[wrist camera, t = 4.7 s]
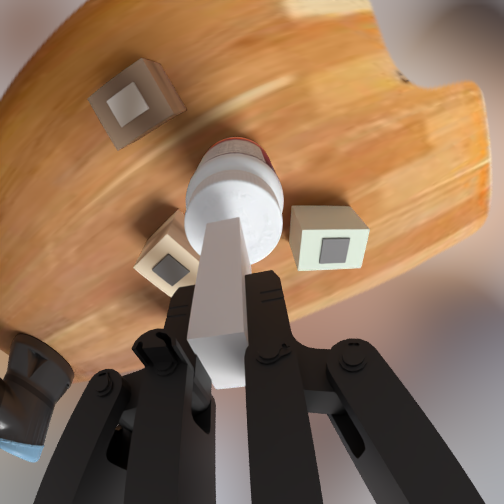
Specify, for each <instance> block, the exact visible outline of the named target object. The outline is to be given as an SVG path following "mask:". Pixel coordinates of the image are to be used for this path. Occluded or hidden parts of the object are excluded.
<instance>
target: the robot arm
mask: <svg viewBox="0 0 504 504" xmlns="http://www.w3.org/2000/svg"><path fill="white" fill-rule="evenodd" d="M132 350H133V351H134V353H135V354H136V355H137V357H138V358H139V359H140V361H141V362H142V363H143V364H144V366H145V368H144V369H141V370H139V371H136V372H133V373H130V374H127V375H124V376H121V375H120V374H119V373H118V372H117V371H115V370H113V369H105V370H102V371H99V372H98V373H96V374H95V375H94V376H93V377H92V378H91V380H90V381H89V383H88V385H87V387H86V389H85V390H84V392H83V394H82V396H81V398H80V400H79V402H78V404H77V406H76V408H75V409H74V411H73V413H72V415H71V417H70V419H69V421H68V423H67V425H66V427H65V430H64V432H63V434H62V436H61V438H60V440H59V442H58V444H57V447H56V449H55V451H54V454H53V456H52V458H51V460H50V463H49V465H48V467H47V470H46V472H45V475H44V477H43V480H42V482H41V485H40V487H39V490H38V492H37V495H36V498H35V501H34V503H33V504H216V489H215V488H216V486H215V417H216V414H215V413H216V404H215V400H214V398H213V396H212V395H211V384H212V383H213V385H214V387H215V388H216V389H225V388H235V387H243V386H245V388H246V409H247V430H248V448H249V466H250V484H251V500H252V504H323V499H322V493H321V486H320V481H319V475H318V469H317V463H316V456H315V450H314V444H313V439H312V433H311V428H310V422H309V416H308V412H310V413H321V414H327V415H328V417H329V419H330V421H331V423H332V424H333V426H334V428H335V430H336V432H337V433H338V435H339V437H340V439H341V441H342V443H343V444H344V446H345V448H346V450H347V452H348V453H349V455H350V457H351V459H352V461H353V462H354V464H355V466H356V468H357V470H358V471H359V473H360V475H361V477H362V479H363V480H364V482H365V484H366V486H367V487H368V489H369V491H370V493H371V494H372V496H373V498H374V500H375V502H376V503H377V504H485V502H484V501H483V499H482V498H481V496H480V495H479V493H478V491H477V490H476V488H475V486H474V485H473V483H472V482H471V480H470V479H469V477H468V476H467V474H466V473H465V471H464V470H463V468H462V466H461V465H460V463H459V462H458V461H457V459H456V458H455V456H454V455H453V453H452V452H451V450H450V449H449V448H448V446H447V444H446V443H445V442H444V440H443V439H442V437H441V436H440V434H439V433H438V432H437V430H436V429H435V427H434V426H433V425H432V423H431V422H430V420H429V419H428V417H427V416H426V415H425V413H424V412H423V411H422V409H421V408H420V407H419V405H418V404H417V402H416V401H415V400H414V398H413V397H412V396H411V394H410V393H409V392H408V390H407V389H406V388H405V386H404V385H403V384H402V382H401V381H400V380H399V378H398V377H397V376H396V375H395V373H394V372H393V370H392V369H391V368H390V367H389V365H388V364H387V363H386V361H385V360H384V359H383V357H382V356H381V355H380V354H379V352H378V351H377V350H376V348H375V347H373V346H372V345H371V344H370V343H369V342H367V341H364V340H361V339H346V340H343V341H340V342H338V343H337V344H335V345H334V346H333V347H332V348H331V350H330V349H315V348H309V347H306V346H304V345H302V344H300V343H299V342H298V341H296V339H295V338H294V337H293V335H292V332H291V329H290V324H289V319H288V314H287V309H286V305H285V300H284V295H283V291H282V286H281V281H280V278H279V277H278V276H277V275H276V274H275V273H274V271H273V270H269V271H264V272H259V273H253V274H252V273H251V265H250V260H249V256H248V252H247V247H246V243H245V239H244V234H243V230H242V226H241V221H240V217H236V218H231V219H226V220H221V221H216V222H211V223H207V224H206V229H205V235H204V240H203V245H202V250H201V255H200V261H199V266H198V272H197V278H196V284H195V285H190V286H183V287H179V288H178V289H177V290H176V292H175V293H174V294H173V296H172V297H171V301H170V305H169V310H168V313H167V318H166V321H165V326H164V329H154V330H150V331H148V332H146V333H144V334H143V335H141V336H140V337H139V338H138V339H137V340H136V341H135V343H134V345H133V347H132ZM73 378H74V372H73V370H72V368H71V367H70V366H69V364H68V363H67V362H66V361H65V360H64V359H63V358H62V357H61V356H60V355H59V354H58V353H57V352H55V351H54V350H53V349H52V348H50V347H49V346H47V345H46V344H44V343H43V342H41V341H39V340H37V339H35V338H33V337H31V336H28V335H25V334H18V335H16V336H15V338H14V340H13V342H12V344H11V348H10V354H9V361H8V368H7V372H6V375H5V377H4V379H3V380H2V379H1V378H0V448H1V449H3V450H5V451H7V452H9V453H11V454H13V455H15V456H17V457H19V458H22V459H24V460H26V461H29V462H37V461H38V460H39V458H40V455H41V452H42V449H43V447H44V442H45V438H46V434H47V430H48V427H49V423H50V420H51V417H52V413H53V410H54V407H55V404H56V403H57V402H58V400H59V399H60V398H61V397H62V395H63V394H64V393H65V392H66V391H67V389H68V388H69V387H70V386H71V384H72V381H73ZM118 424H119V425H118ZM117 425H118V426H117Z"/></svg>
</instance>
